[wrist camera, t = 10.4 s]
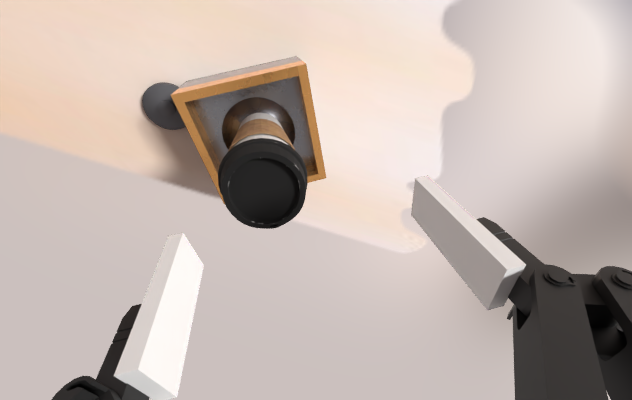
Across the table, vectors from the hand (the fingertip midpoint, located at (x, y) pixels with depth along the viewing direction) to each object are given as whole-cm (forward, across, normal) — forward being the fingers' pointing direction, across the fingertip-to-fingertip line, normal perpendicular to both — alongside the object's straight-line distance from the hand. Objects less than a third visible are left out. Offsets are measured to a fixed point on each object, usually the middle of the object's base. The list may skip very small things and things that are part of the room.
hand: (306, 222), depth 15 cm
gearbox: (+28, -3, -3) cm, 28 cm away
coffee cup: (+23, -3, -3) cm, 23 cm away
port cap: (+29, -14, +2) cm, 32 cm away
